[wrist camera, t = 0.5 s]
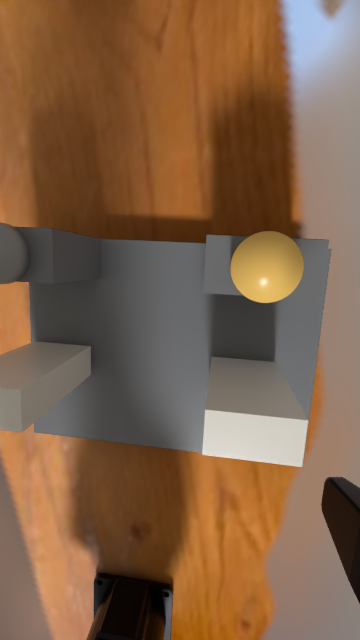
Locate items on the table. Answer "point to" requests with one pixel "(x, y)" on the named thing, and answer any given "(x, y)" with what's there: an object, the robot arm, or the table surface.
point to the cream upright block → (38, 380)
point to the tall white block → (252, 413)
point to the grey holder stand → (166, 322)
